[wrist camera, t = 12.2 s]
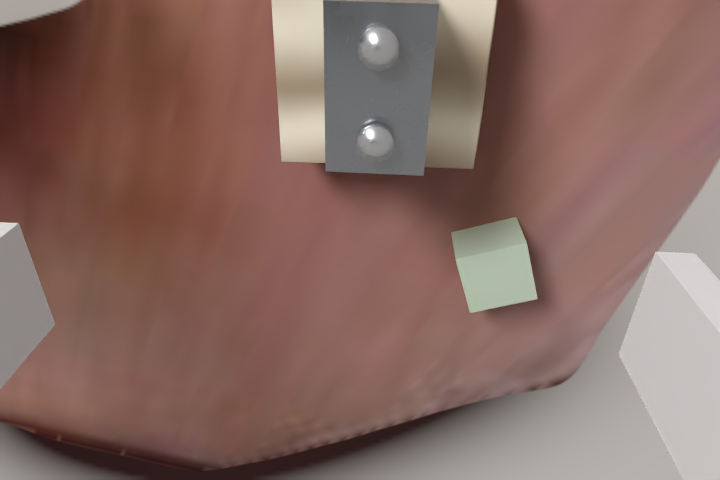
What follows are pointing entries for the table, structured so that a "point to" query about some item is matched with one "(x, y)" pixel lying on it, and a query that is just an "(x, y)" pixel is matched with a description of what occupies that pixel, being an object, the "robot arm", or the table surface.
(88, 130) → the table surface
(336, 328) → the table surface
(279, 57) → the plinth
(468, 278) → the sage block
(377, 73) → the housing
